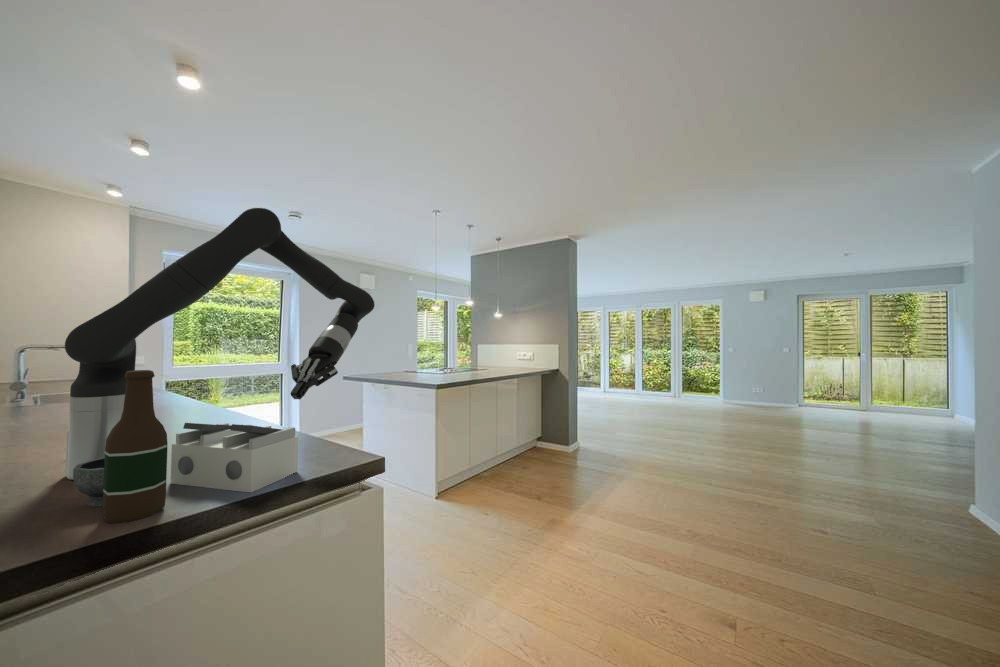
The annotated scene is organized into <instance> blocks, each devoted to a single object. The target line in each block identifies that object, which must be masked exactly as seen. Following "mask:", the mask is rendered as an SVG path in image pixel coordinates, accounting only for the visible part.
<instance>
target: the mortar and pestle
mask: <svg viewBox="0 0 1000 667" xmlns="http://www.w3.org/2000/svg"><path fill="white" fill-rule="evenodd" d="M73 478H74V480H73V483H74V486H75V488H76V489H77V490H78V491H79V492H80V493H82V494H84V495H86V496H88V498H87V504H86V506H87V507H93V508H95V507H96V508H98V507H103V483H104V458H101V459H96V460H92V461H88V462H85V463H82V464H78V465H77V466H76V467H75V468H74V469H73Z"/></svg>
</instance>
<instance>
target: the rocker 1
mask: <svg viewBox="0 0 1000 667" xmlns="http://www.w3.org/2000/svg"><path fill="white" fill-rule="evenodd" d="M231 426H232V424H231V425H230V424H229V425H220V423H218V424H213V423H212V424H209V423H198V422H197V423H196V422H195V423H193V422H184V425H183V429H185V430H212V431H223V430H227V429H231Z"/></svg>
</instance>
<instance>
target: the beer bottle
mask: <svg viewBox="0 0 1000 667" xmlns="http://www.w3.org/2000/svg"><path fill="white" fill-rule="evenodd" d="M155 377H156V375H155V372H154V370H150V369H140V370H139V369H138V370H137V369H135V370H133V371H128V372H126V374H125V378H126V379H127V382H126V391H125V399H124V407H123V412H122V416H121V419H120V421H119V422H118V423H117V424H116V425H115V426H114V427H113V429H112V430H111V432H110V434H109V436H108V438H107V439H106V446H105V458H104V483H103V506H102V517H103V519H104V520H105V521H106V522H107V523H108V524H115V523H117V524H118V523H131V522H133V521H134V522H135V521H137V520H140V519H145V518H147V517H151V516H153V515H155V514H156V513H158V512H160V511H162V510H163V509H164V508H165V506H166V498H167V474H168V473H167V471H168V469H167V468H168V466H167V465H168V444H169V443H168V434H167V431H166V429H165V427H164V425H163V424H162V422H161V421H160V420H159V419H158V418H157V417H156V414H155V407H154V390H153V378H155Z"/></svg>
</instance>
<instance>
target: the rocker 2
mask: <svg viewBox="0 0 1000 667" xmlns="http://www.w3.org/2000/svg"><path fill="white" fill-rule="evenodd" d="M231 425H232V426H231V429H230V430H231V431H239V432H247V433H255V434H263V435H266V434H270V433H274V432H277V431H281V430H283V429H281V428H275V427H274V428H273V427H271V428H266V426H258V425H252V424H233V423H232V424H231Z"/></svg>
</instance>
